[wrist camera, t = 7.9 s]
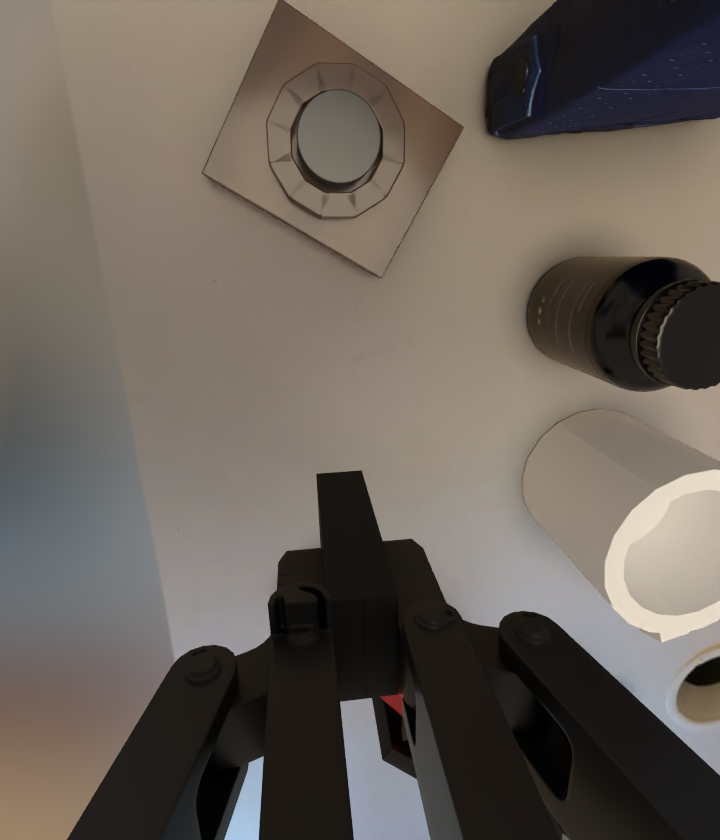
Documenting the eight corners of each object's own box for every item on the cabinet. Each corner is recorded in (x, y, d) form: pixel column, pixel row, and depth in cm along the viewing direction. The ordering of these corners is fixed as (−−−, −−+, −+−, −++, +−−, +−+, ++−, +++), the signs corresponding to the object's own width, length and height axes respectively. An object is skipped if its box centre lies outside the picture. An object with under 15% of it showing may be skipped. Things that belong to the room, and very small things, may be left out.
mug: (666, 546, 41) (786, 643, 31) (543, 588, 41) (624, 698, 31) (646, 389, 36) (779, 443, 26) (509, 435, 36) (590, 507, 26)
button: (282, 160, 26) (281, 154, 24) (320, 81, 25) (321, 69, 24) (351, 202, 27) (355, 199, 25) (390, 128, 26) (396, 120, 25)
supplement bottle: (633, 258, 33) (804, 263, 22) (611, 363, 36) (757, 415, 24) (531, 252, 33) (656, 253, 21) (515, 359, 35) (621, 412, 23)
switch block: (208, 178, 29) (195, 167, 25) (280, 16, 27) (277, -22, 24) (376, 276, 32) (386, 279, 28) (452, 135, 30) (474, 118, 26)
